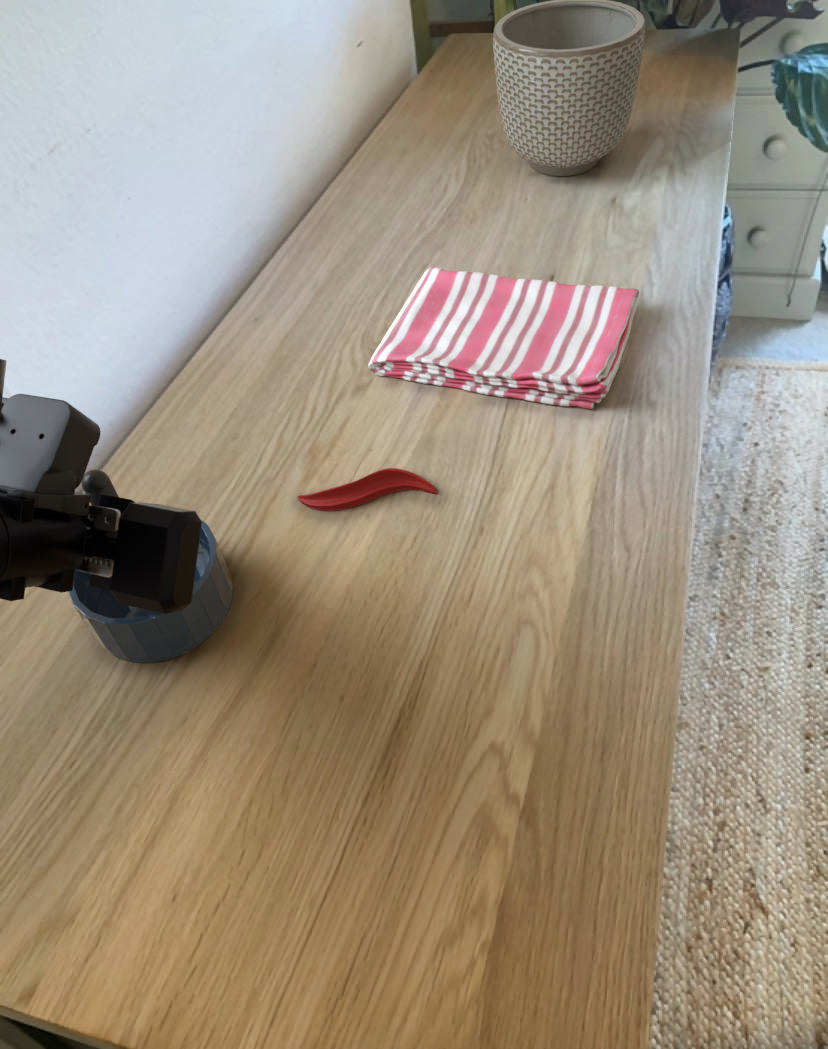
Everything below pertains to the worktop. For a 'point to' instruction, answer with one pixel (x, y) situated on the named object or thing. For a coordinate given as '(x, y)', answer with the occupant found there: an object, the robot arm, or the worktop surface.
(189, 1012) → the worktop surface
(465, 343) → the dish towel
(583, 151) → the planter
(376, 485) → the cayenne pepper
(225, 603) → the bowl
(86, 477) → the joystick
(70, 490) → the robot arm
